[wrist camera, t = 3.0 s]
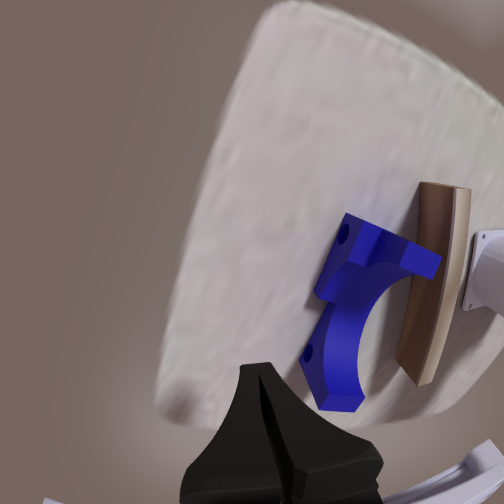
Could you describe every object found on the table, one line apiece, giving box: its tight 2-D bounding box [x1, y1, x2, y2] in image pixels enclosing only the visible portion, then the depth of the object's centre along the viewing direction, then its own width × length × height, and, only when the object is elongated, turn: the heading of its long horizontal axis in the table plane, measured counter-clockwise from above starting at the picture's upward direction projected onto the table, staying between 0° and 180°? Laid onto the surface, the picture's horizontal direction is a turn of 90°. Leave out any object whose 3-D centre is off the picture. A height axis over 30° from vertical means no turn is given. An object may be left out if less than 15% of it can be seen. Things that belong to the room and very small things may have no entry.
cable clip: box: [299, 213, 442, 412], centre depth 19 cm, size 12×4×6 cm, turn 161°
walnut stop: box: [396, 182, 471, 387], centre depth 20 cm, size 2×16×4 cm, turn 3°
